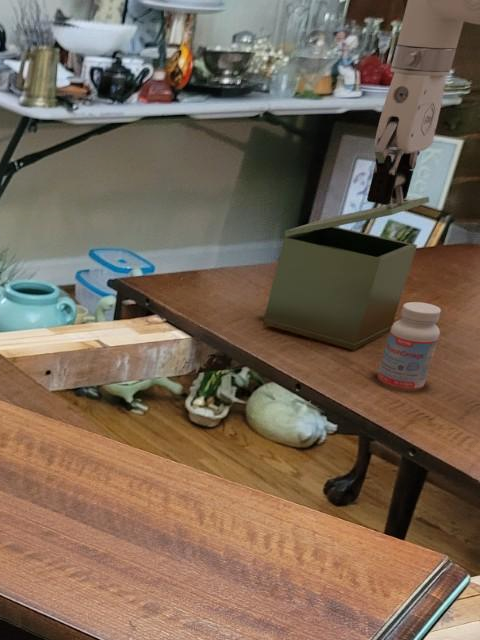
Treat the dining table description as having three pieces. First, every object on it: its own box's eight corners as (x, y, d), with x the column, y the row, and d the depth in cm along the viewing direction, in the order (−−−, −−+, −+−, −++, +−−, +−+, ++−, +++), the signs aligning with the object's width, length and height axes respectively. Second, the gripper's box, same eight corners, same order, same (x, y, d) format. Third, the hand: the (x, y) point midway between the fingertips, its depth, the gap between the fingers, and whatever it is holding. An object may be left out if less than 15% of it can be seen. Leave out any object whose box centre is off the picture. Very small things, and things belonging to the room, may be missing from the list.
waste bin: (390, 331, 172) (417, 244, 165) (353, 350, 163) (380, 259, 156) (302, 307, 181) (324, 224, 173) (262, 324, 172) (284, 237, 165)
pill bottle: (368, 388, 150) (390, 307, 144) (385, 376, 154) (406, 297, 148) (414, 399, 147) (437, 317, 141) (429, 387, 151) (453, 306, 145)
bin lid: (429, 202, 162) (426, 165, 160) (392, 214, 153) (388, 176, 152) (325, 223, 173) (321, 189, 172) (285, 236, 165) (280, 200, 163)
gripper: (426, 67, 142) (388, 212, 152) (472, 61, 153) (434, 197, 163) (369, 61, 147) (336, 203, 156) (418, 56, 158) (384, 189, 167)
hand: (386, 198), depth 159 cm, fingers closed on bin lid, 5 cm apart
